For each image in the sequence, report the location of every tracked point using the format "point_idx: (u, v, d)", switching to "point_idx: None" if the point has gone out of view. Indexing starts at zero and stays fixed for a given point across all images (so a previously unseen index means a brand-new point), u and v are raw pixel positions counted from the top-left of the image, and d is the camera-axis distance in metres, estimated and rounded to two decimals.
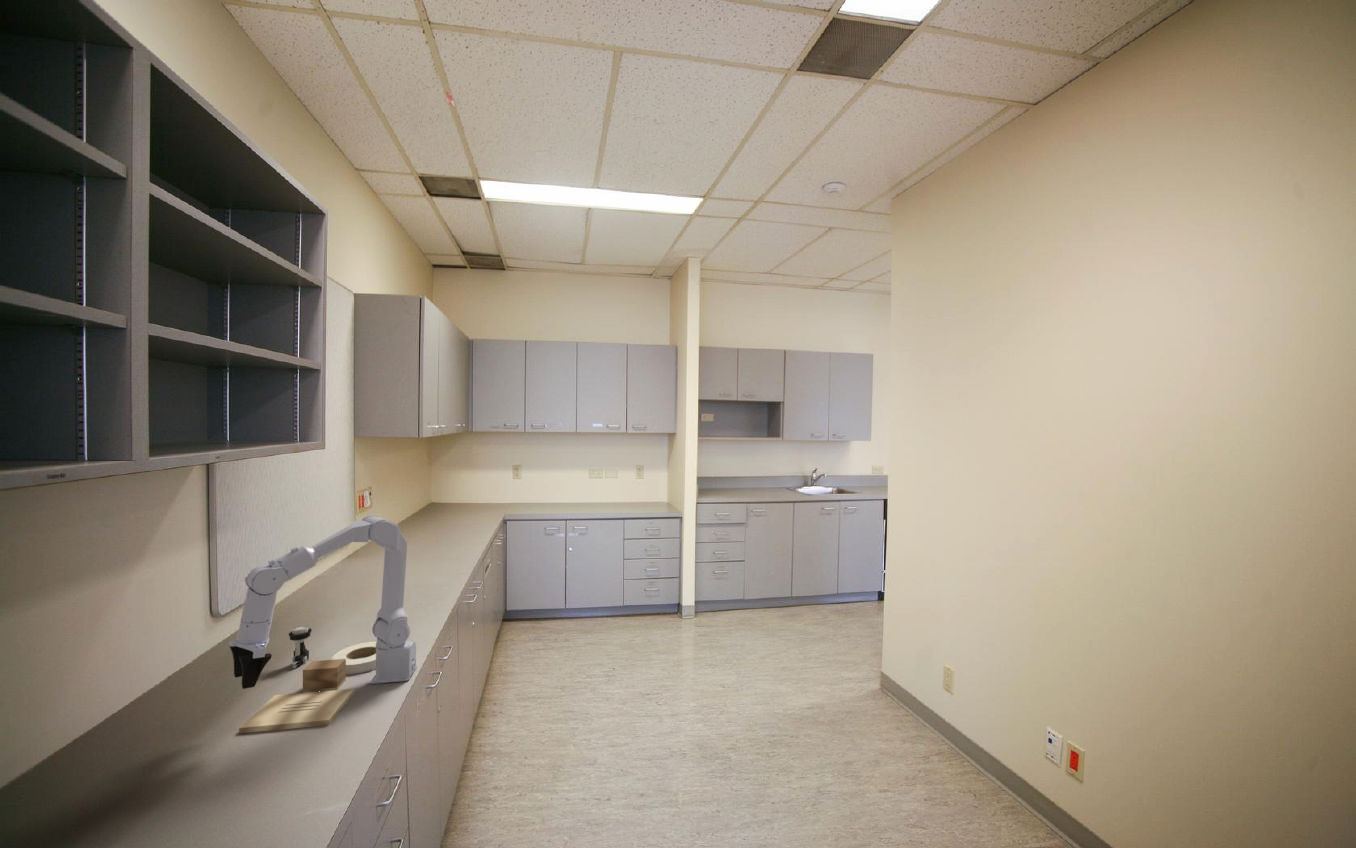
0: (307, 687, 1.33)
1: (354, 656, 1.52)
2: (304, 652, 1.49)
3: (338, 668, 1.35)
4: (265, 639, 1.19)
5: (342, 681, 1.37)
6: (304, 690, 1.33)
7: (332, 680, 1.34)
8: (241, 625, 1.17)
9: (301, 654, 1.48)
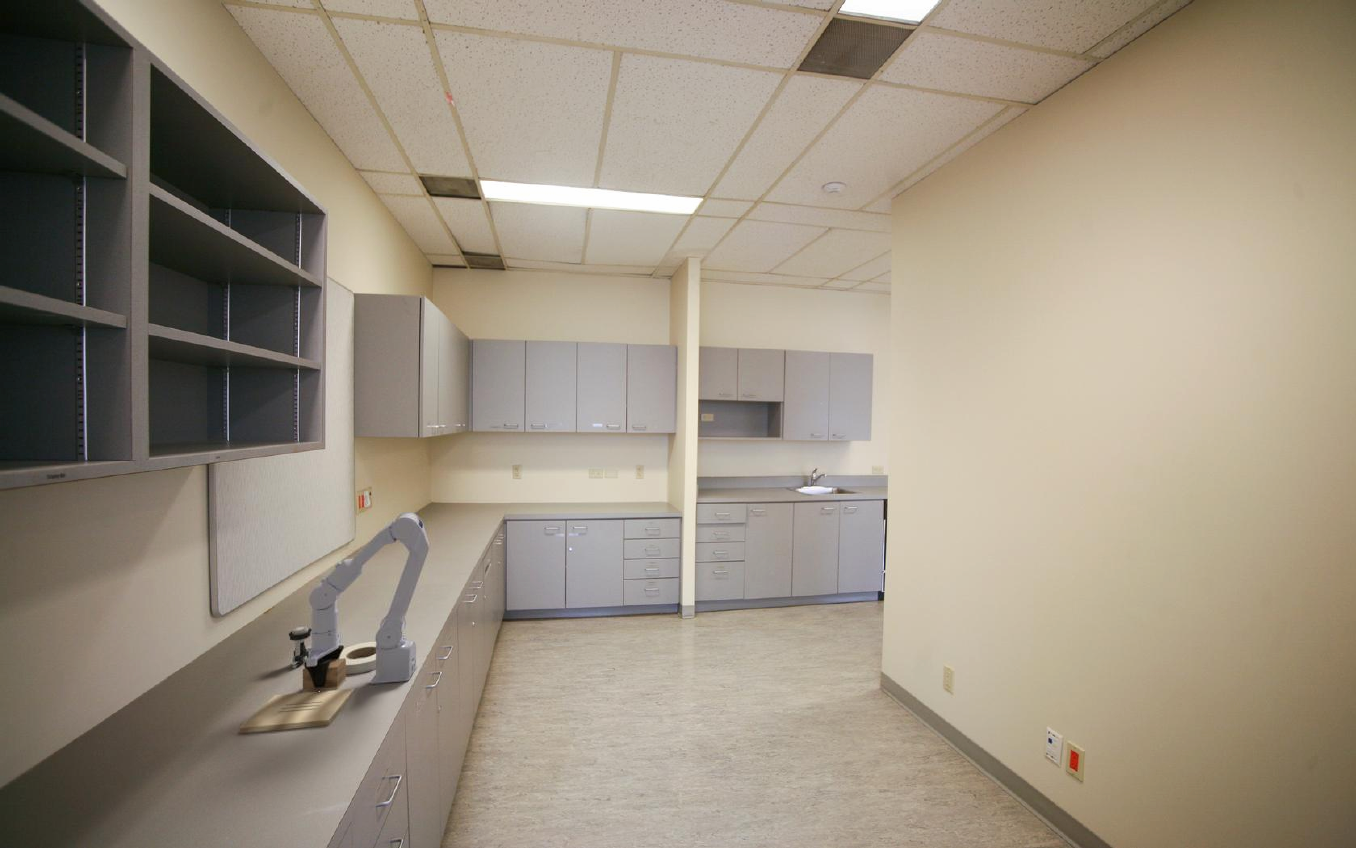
0: (307, 687, 1.33)
1: (354, 656, 1.52)
2: (304, 652, 1.49)
3: (338, 668, 1.35)
4: (328, 648, 1.34)
5: (342, 681, 1.37)
6: (304, 690, 1.33)
7: (332, 679, 1.34)
8: None
9: (301, 654, 1.48)
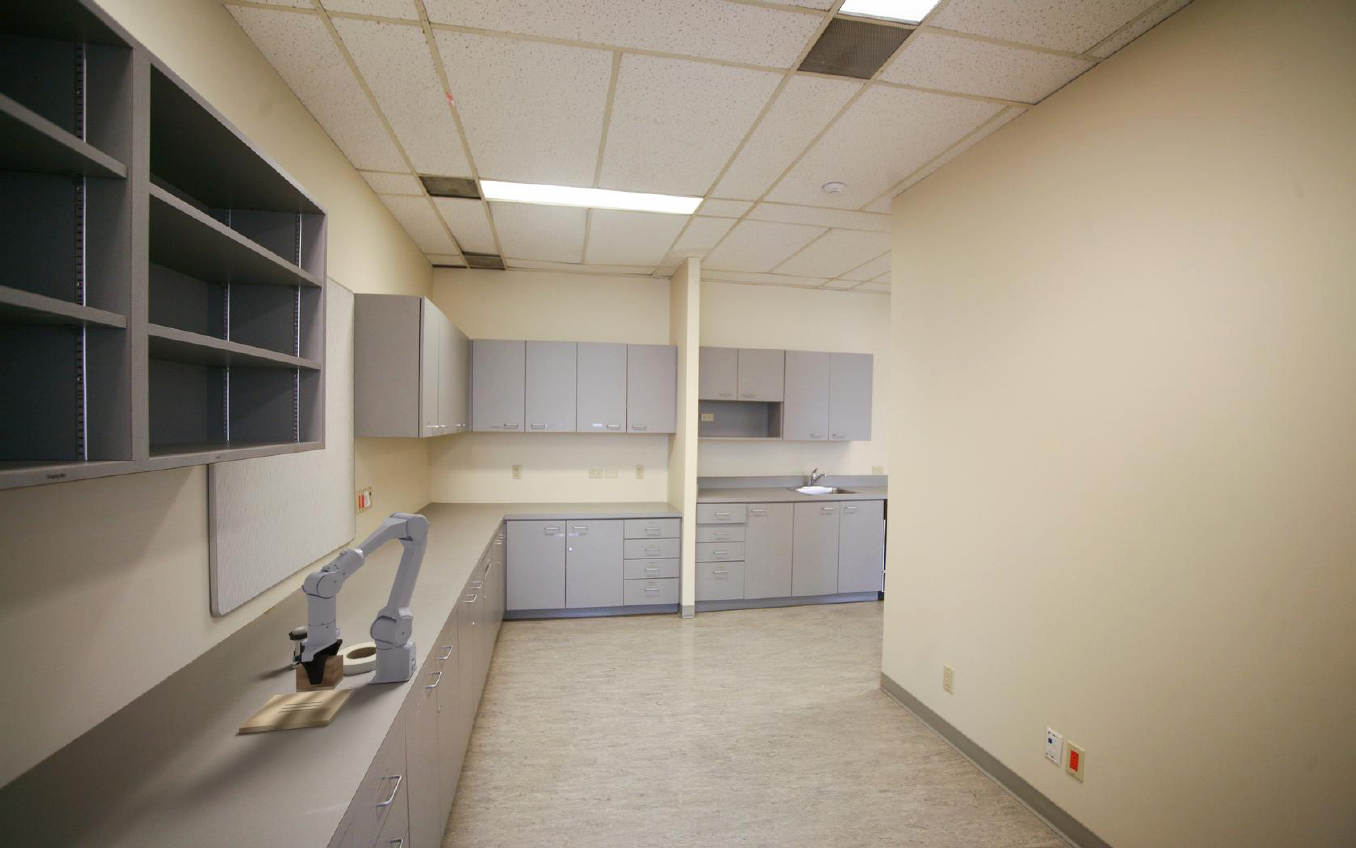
0: (301, 686, 1.22)
1: (354, 656, 1.52)
2: None
3: (334, 665, 1.24)
4: (326, 641, 1.23)
5: (339, 679, 1.26)
6: (298, 689, 1.22)
7: (328, 678, 1.23)
8: None
9: (301, 654, 1.48)
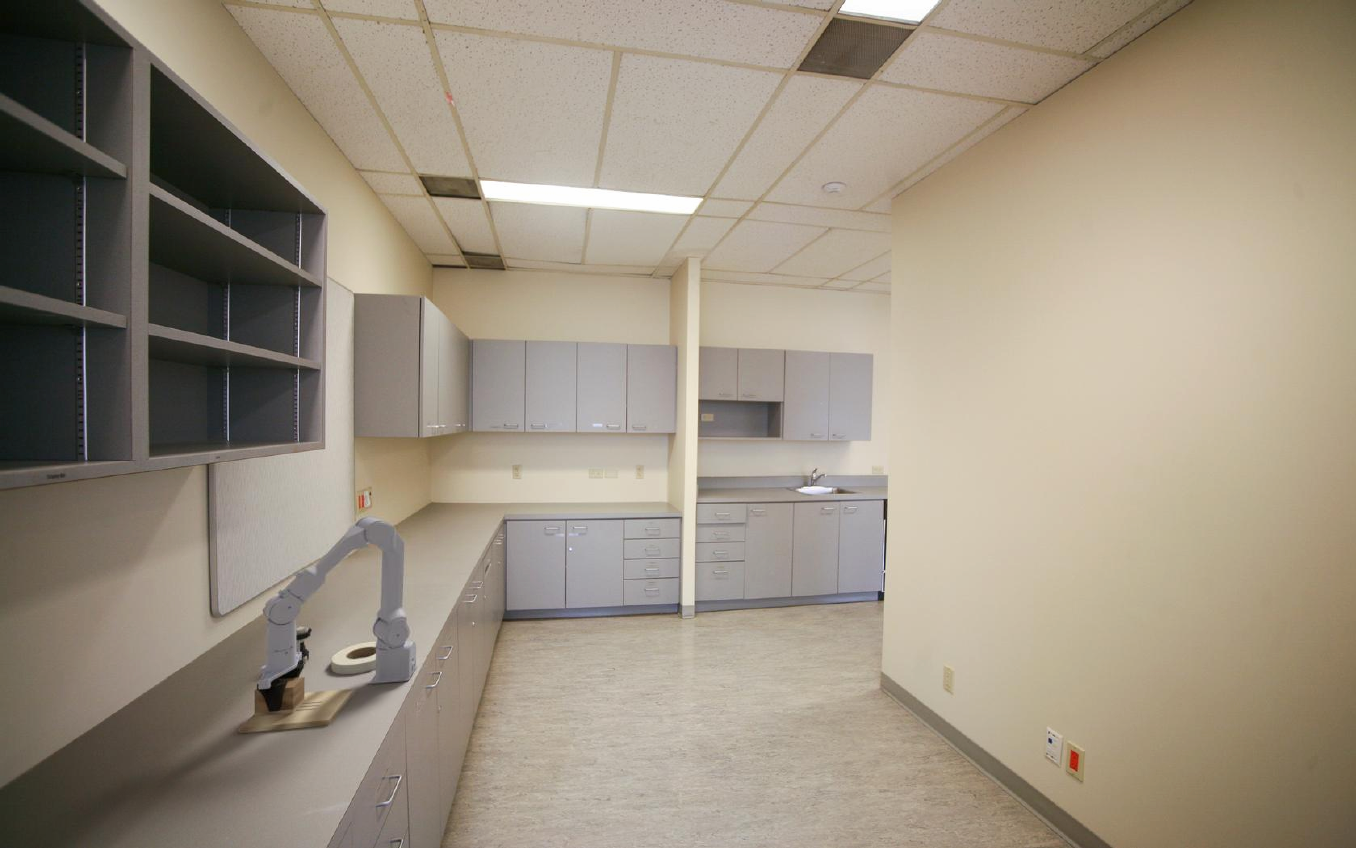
0: (260, 709, 1.20)
1: (354, 656, 1.52)
2: (304, 652, 1.49)
3: (294, 688, 1.22)
4: (285, 667, 1.22)
5: (300, 702, 1.25)
6: (256, 712, 1.20)
7: (287, 701, 1.21)
8: None
9: None
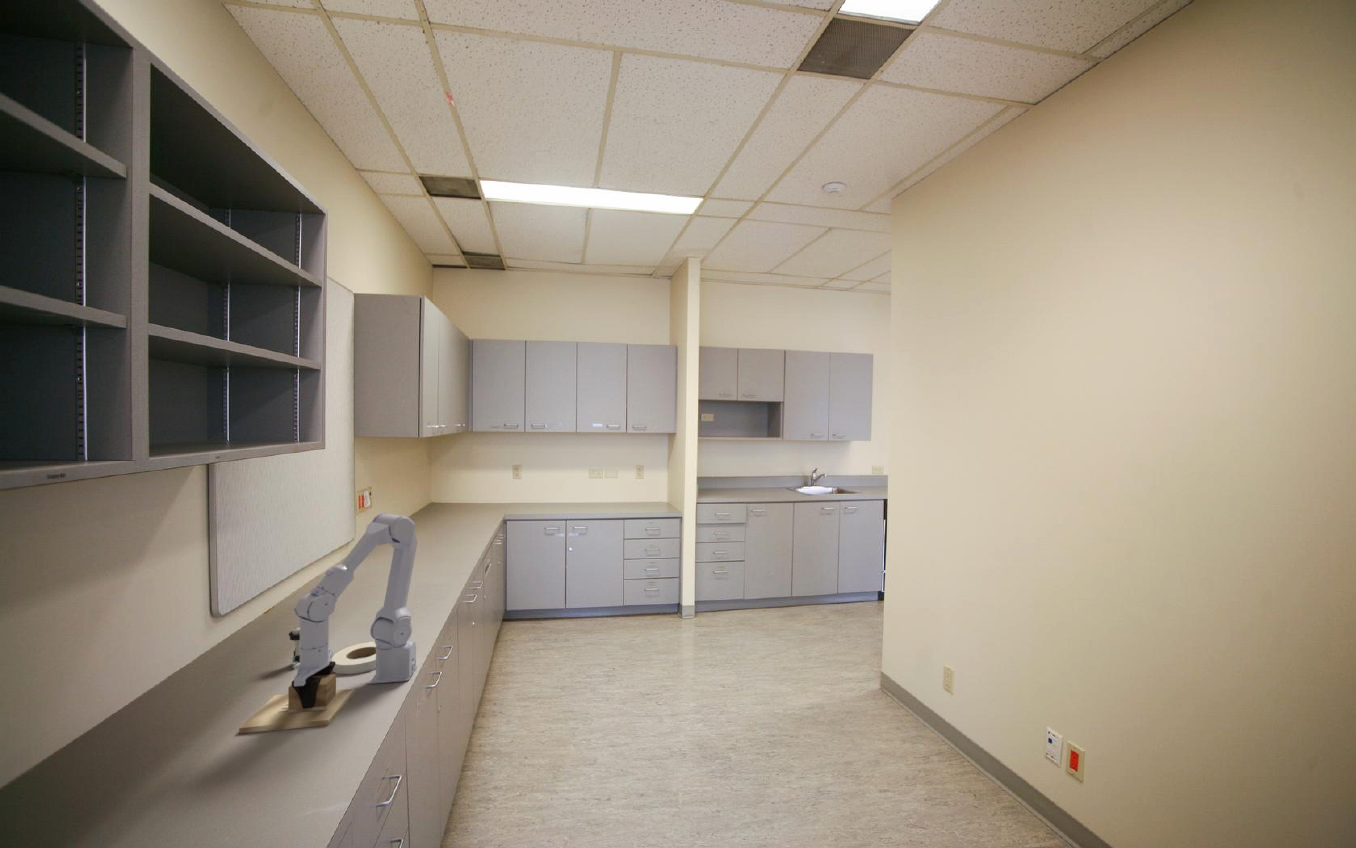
0: (293, 706, 1.22)
1: (354, 656, 1.52)
2: None
3: (327, 685, 1.23)
4: (318, 665, 1.23)
5: (332, 699, 1.26)
6: (290, 709, 1.22)
7: (320, 698, 1.23)
8: None
9: None
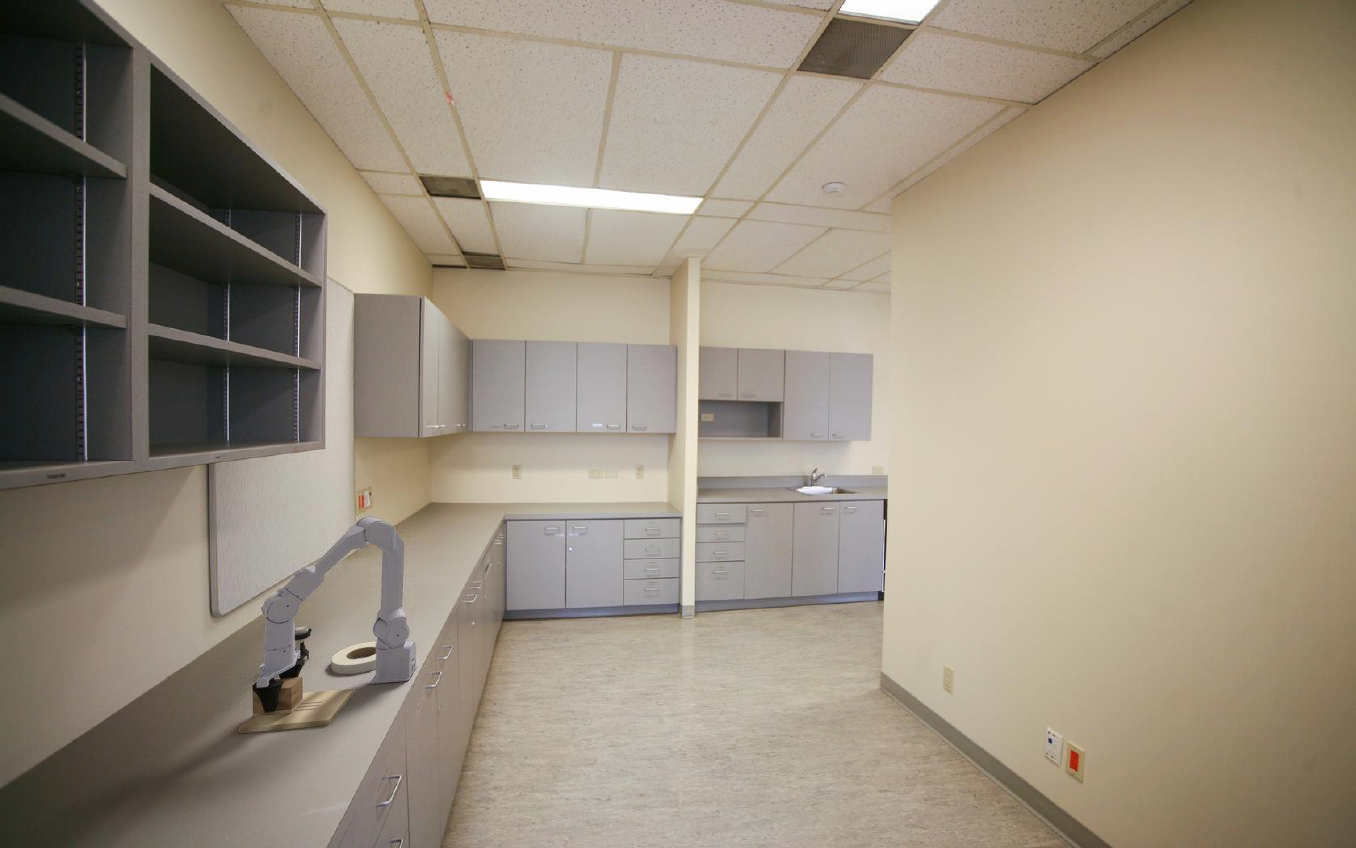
0: (258, 709, 1.20)
1: (354, 656, 1.52)
2: (304, 652, 1.49)
3: (292, 688, 1.22)
4: (283, 666, 1.22)
5: (298, 702, 1.25)
6: (254, 713, 1.20)
7: (285, 701, 1.21)
8: None
9: (301, 654, 1.48)
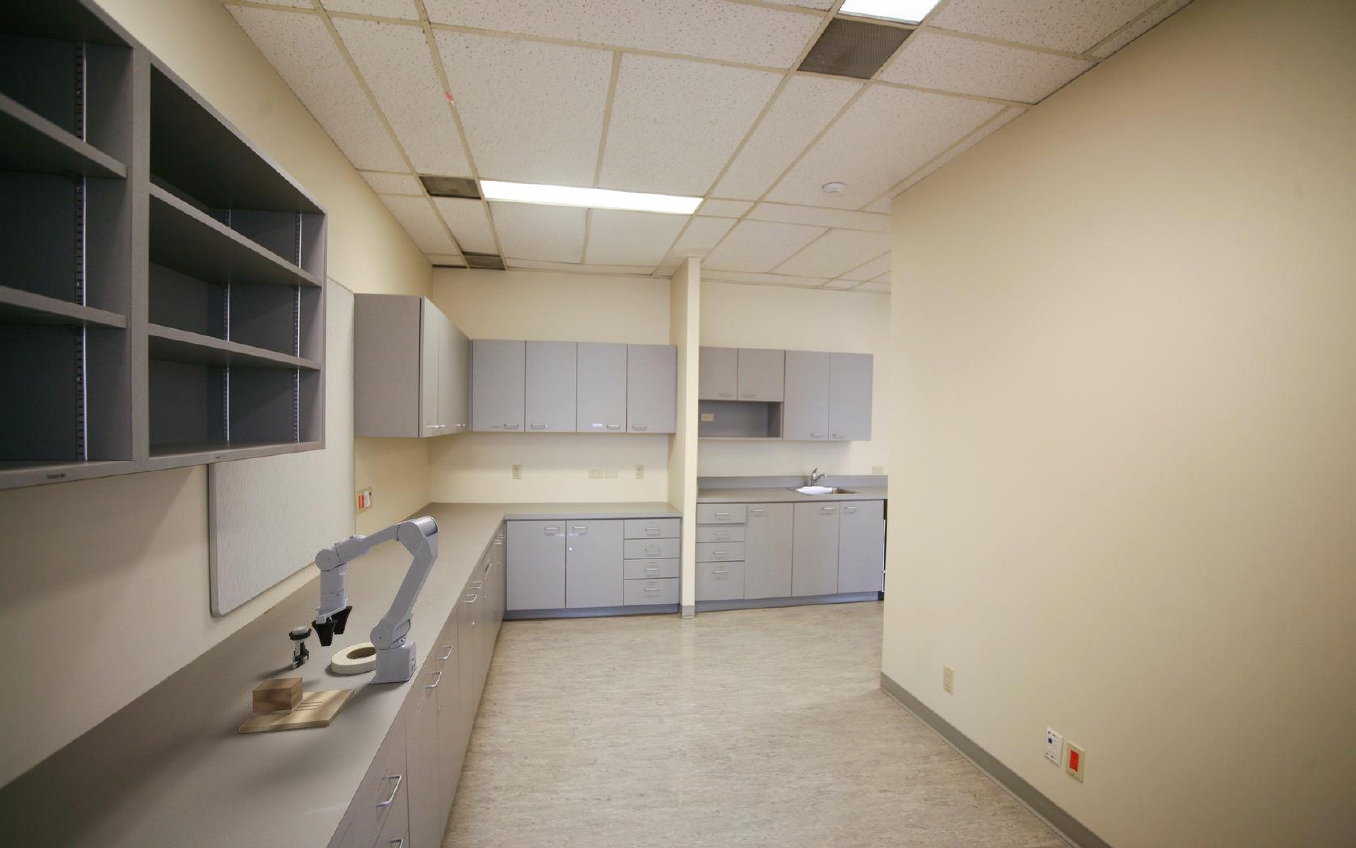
0: (258, 709, 1.20)
1: (354, 656, 1.52)
2: (304, 652, 1.49)
3: (292, 688, 1.22)
4: (336, 607, 1.41)
5: (298, 702, 1.25)
6: (254, 713, 1.20)
7: (285, 701, 1.21)
8: None
9: (301, 654, 1.48)
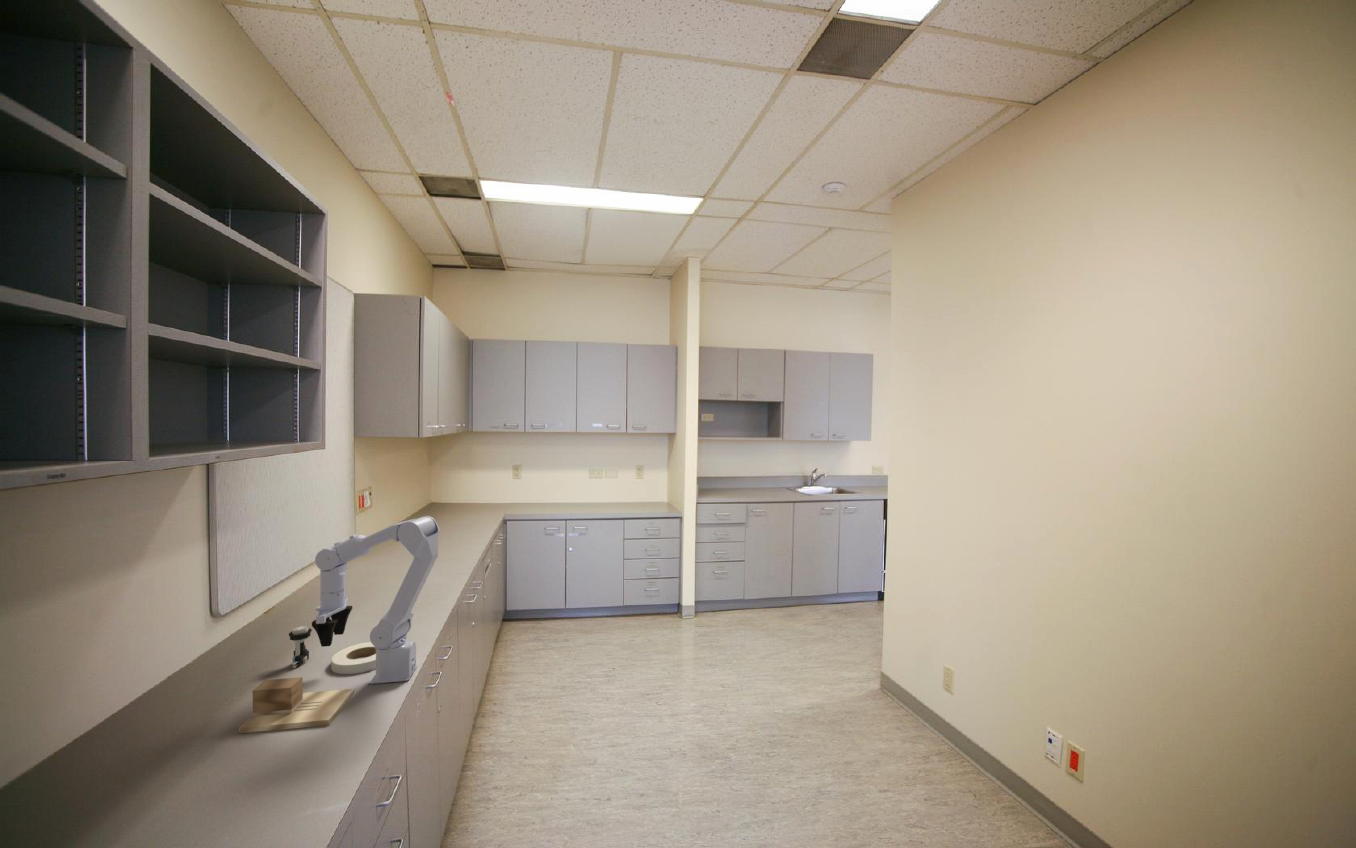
0: (258, 709, 1.20)
1: (354, 656, 1.52)
2: (304, 652, 1.49)
3: (292, 688, 1.22)
4: (336, 607, 1.41)
5: (298, 702, 1.25)
6: (254, 713, 1.20)
7: (285, 701, 1.21)
8: None
9: (301, 654, 1.48)
